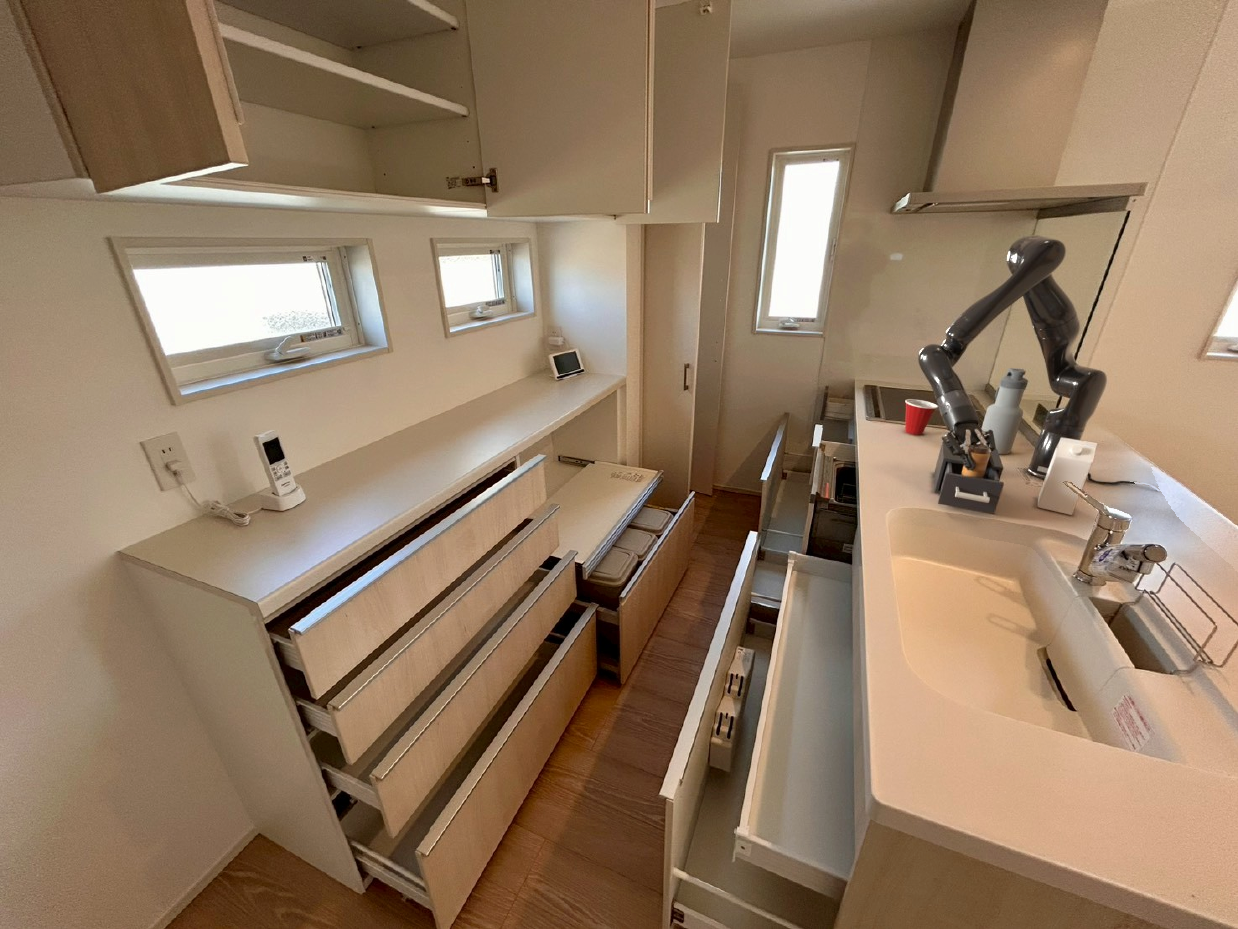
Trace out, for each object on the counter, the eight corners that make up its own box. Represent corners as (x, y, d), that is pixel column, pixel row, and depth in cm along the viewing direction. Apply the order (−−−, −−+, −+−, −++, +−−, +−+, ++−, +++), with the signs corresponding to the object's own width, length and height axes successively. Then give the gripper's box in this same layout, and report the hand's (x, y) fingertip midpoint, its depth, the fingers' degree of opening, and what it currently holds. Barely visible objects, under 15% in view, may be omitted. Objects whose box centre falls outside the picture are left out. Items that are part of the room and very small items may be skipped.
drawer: (996, 523, 124) (1006, 491, 120) (938, 511, 129) (946, 481, 126) (988, 492, 139) (997, 464, 136) (937, 483, 145) (944, 455, 142)
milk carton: (1037, 498, 138) (1060, 433, 131) (1071, 505, 134) (1097, 439, 126) (1036, 507, 133) (1060, 441, 125) (1071, 515, 129) (1098, 447, 121)
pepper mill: (980, 478, 133) (991, 445, 129) (982, 485, 129) (993, 450, 125) (959, 474, 135) (969, 441, 131) (960, 481, 131) (970, 447, 127)
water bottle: (974, 442, 178) (997, 365, 168) (1007, 447, 174) (1033, 367, 163) (977, 452, 170) (1002, 371, 159) (1012, 457, 166) (1040, 374, 155)
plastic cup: (935, 438, 183) (944, 406, 178) (904, 436, 185) (911, 405, 180) (924, 428, 193) (931, 398, 188) (894, 427, 195) (900, 397, 190)
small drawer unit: (992, 503, 135) (1003, 467, 131) (934, 492, 142) (943, 458, 137) (986, 482, 148) (997, 449, 144) (933, 473, 154) (942, 441, 150)
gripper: (969, 415, 139) (993, 472, 133) (924, 418, 137) (946, 475, 131) (991, 402, 132) (1017, 461, 126) (943, 404, 130) (967, 464, 124)
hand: (980, 468), depth 128 cm, fingers closed on pepper mill, 4 cm apart
